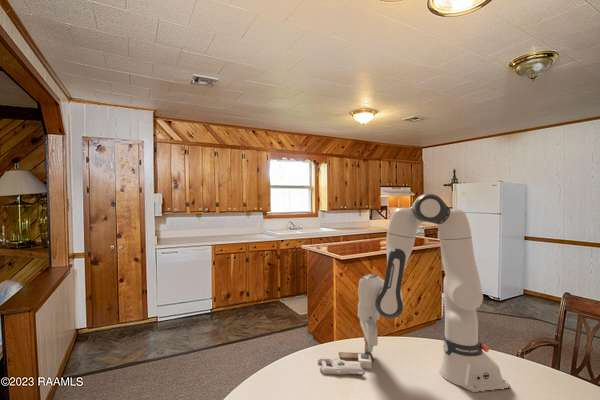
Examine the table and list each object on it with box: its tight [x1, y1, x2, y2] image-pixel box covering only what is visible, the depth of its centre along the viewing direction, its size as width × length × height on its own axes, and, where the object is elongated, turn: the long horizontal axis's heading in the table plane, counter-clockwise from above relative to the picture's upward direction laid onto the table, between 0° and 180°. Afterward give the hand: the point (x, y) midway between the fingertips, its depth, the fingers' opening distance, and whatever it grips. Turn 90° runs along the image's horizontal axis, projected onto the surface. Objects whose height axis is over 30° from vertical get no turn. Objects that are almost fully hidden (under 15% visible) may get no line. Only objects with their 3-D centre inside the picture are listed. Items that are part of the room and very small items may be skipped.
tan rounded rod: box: [364, 337, 372, 355], centre depth 122 cm, size 3×3×9 cm
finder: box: [357, 354, 373, 370], centre depth 117 cm, size 5×5×3 cm
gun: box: [317, 356, 366, 376], centre depth 114 cm, size 18×4×10 cm
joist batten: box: [338, 351, 375, 362], centre depth 122 cm, size 14×4×1 cm, turn 87°
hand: (368, 345), depth 122 cm, fingers open, 7 cm apart
